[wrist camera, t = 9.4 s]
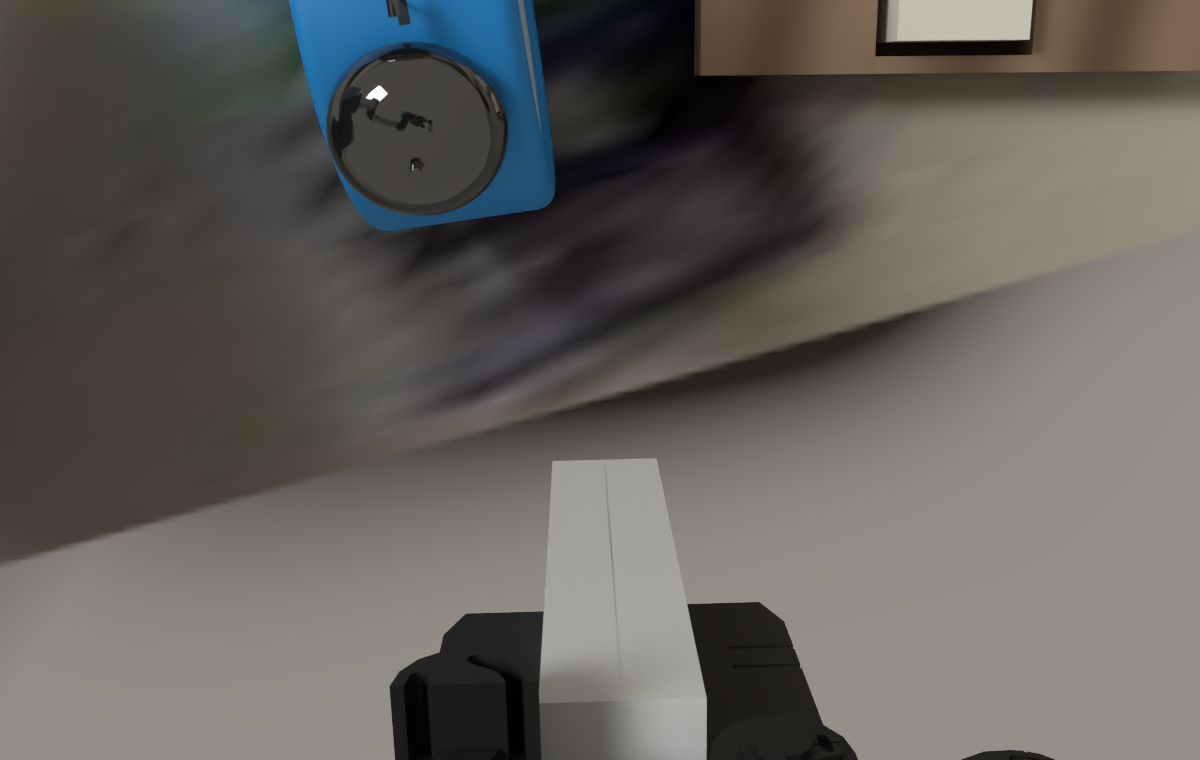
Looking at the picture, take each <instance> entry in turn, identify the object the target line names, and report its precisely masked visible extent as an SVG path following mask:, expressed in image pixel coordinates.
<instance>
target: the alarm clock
mask: <svg viewBox="0 0 1200 760" xmlns="http://www.w3.org/2000/svg"><path fill="white" fill-rule="evenodd" d="M289 3H290V8H291V14H292V19H293V23H294V28H295V32H296V37H297V42H298V46H299V50H300V54H301V58H302V63H303V67H304V70H305V74H306V78H307V82H308V86H309V89H310V93H311V96H312V100H313V103H314V107H315V110H316V113H317V117H318V120H319V123H320V126H321V129H322V132H323V135H324V138H325V141H326V144H327V147H328V149H329V152H330V155H331V157H332V160H333V163H334V165H335V168H336V170H337V172H338V175H339V177H340V179H341V181H342V184H343V186H344V188H345V190H346V192H347V194H348V196H349V198H350V199H351V201H352V203H353V204H354V206H355V208H356V209H357V211H358V212H359V213H360V214H361V216H362V217H363V218H364V219H365V220H366V221H367V222H368V223H369V224H370V225H371V226H373V227H375V228H377V229H379V230H381V231H395V230H401V229H408V228H415V227H422V226H429V225H435V224H442V223H449V222H456V221H463V220H469V219H476V218H483V217H490V216H497V215H504V214H510V213H517V212H524V211H531V210H538V209H541V208H544V207H546V206H547V205H548V204H549V203H550V202H551V201H552V199H553V197H554V195H555V169H554V157H553V147H552V138H551V130H550V121H549V113H548V105H547V98H546V90H545V83H544V75H543V68H542V61H541V54H540V47H539V40H538V33H537V26H536V20H535V13H534V6H533V0H289Z"/></svg>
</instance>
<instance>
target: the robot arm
mask: <svg viewBox="0 0 1200 760" xmlns="http://www.w3.org/2000/svg"><path fill="white" fill-rule="evenodd" d="M390 697H391V710H392V722H393V736H394V748H395V760H858V759H857V756H856V754H855V752H854V751H853V749H852V748H851V747H850V745H849V744H848V743H847V741H846V740H845V739H844V738H843V737H842V736H841V735H839V734H837V733H836V732H834V731H832V730H831V729H829V728H827V727H826V726H824V725H823V723H822V721H821V718H820V715H819V713H818V710H817V708H816V705H815V702H814V699H813V697H812V695H811V692H810V689H809V686H808V684H807V681H806V678H805V676H804V673H803V670H802V668H800V663H799V660H798V658H797V655H796V652H795V649H793V644H792V642H791V639H790V637H789V634H788V631H787V628H786V626H785V623H784V621H783V620H781V619H780V618H779V617H777V616H776V615H775V614H774V613H772V612H771V611H770V610H769V609H767V608H766V607H765V606H763V605H762V604H761V603H759V602H748V603H715V604H687V602H686V597H685V592H684V588H683V583H682V578H681V573H680V569H679V564H678V559H677V554H676V549H675V545H674V540H673V535H672V530H671V526H670V521H669V516H668V511H667V506H666V502H665V497H664V492H663V487H662V482H661V478H660V473H659V468H658V463H657V459H656V458H648V459H611V460H575V461H553V463H552V480H551V496H550V513H549V530H548V547H547V564H546V583H545V600H544V612H514V613H513V612H512V613H480V614H479V613H477V614H465V615H464V616H463V617H462V618H461V619H460V620H459V621H458V622H457V623H456V624H455V625H454V626H453V627H452V628H451V629H450V630H448V632H446V633H445V634H444V637H443V641H442V645H441V649H440V653H437V654H434V655H431V656H428V657H425V658H422V659H419V660H417V661H416V662H414V663H412V664H411V665H409V666H408V667H406V668H404V669H403V670H401V671H400V672H399V673H398V675H397V676H396V678H395V679H394V681H393V682H392V684H391V685H390ZM962 760H1054V759H1052V758H1049V757H1046V756H1044V755H1041V754H1036V753H1031V752H1027V753H1026V752H1024V751H1016V750H1007V751H988V752H982V753H979V754H976V755H974V756H970V757H968V758H965V759H962Z"/></svg>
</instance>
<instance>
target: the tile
mask: <svg viewBox="0 0 1200 760" xmlns="http://www.w3.org/2000/svg"><path fill="white" fill-rule="evenodd" d="M1032 3H1033V0H879V2H878V22H877V42H876V43H939V42H1005V41H1018V40H1030V28H1031V16H1032Z"/></svg>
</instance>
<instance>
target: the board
mask: <svg viewBox="0 0 1200 760" xmlns="http://www.w3.org/2000/svg"><path fill="white" fill-rule="evenodd" d="M877 9H878V0H695V48H694V76H713V75H815V74H917V73H1018V72H1120V71H1200V0H1033V3H1032V16H1031V28H1030V40H1018V41H1009V51H1008V55H971V56H875V48H876V28H877Z"/></svg>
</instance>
